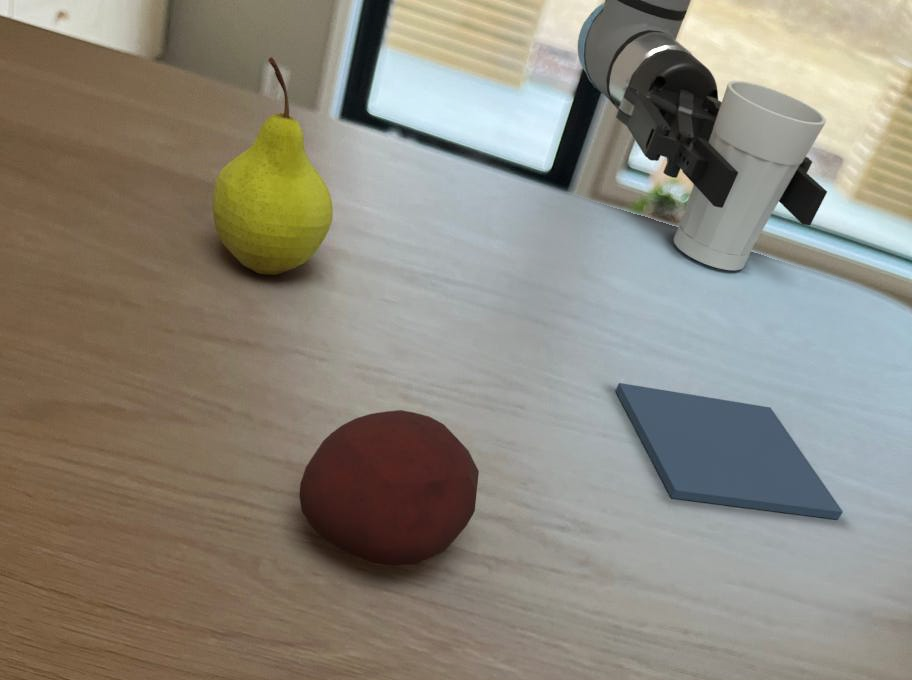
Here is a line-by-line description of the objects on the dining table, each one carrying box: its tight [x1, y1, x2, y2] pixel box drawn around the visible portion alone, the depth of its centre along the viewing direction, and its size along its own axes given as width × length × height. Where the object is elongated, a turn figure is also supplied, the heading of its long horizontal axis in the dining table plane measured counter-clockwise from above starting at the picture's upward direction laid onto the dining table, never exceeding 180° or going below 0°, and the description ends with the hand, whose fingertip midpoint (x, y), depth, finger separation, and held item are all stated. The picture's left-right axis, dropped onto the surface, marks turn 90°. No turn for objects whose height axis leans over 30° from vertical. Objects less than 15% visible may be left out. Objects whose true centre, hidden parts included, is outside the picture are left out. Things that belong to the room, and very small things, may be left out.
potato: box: [299, 409, 480, 567], centre depth 46 cm, size 7×8×6 cm
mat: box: [615, 382, 844, 520], centre depth 63 cm, size 11×11×1 cm
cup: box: [673, 80, 827, 271], centre depth 83 cm, size 8×8×12 cm
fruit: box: [212, 57, 334, 276], centre depth 61 cm, size 7×7×12 cm
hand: (771, 198), depth 80 cm, fingers closed on cup, 7 cm apart
